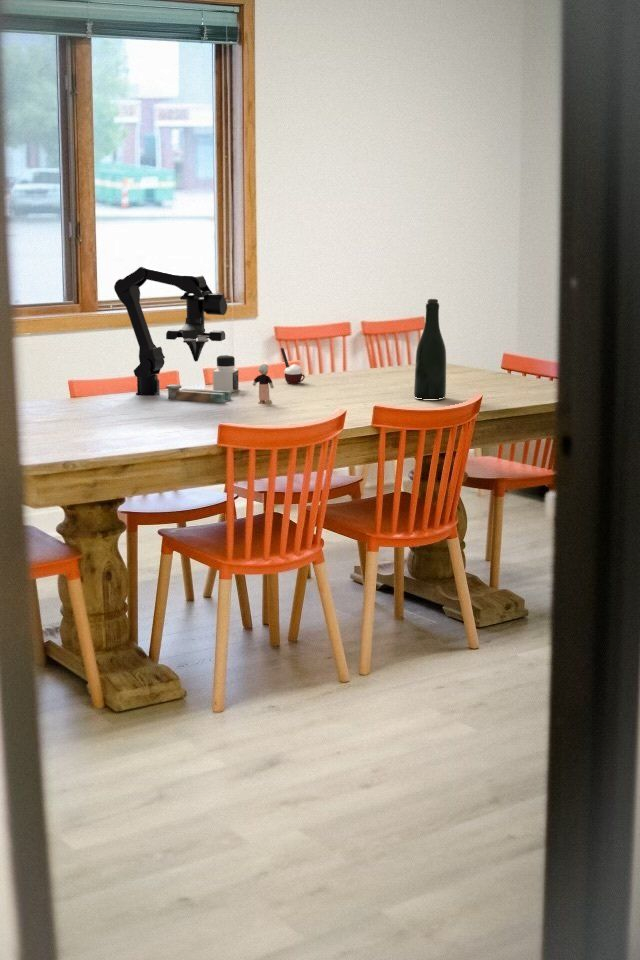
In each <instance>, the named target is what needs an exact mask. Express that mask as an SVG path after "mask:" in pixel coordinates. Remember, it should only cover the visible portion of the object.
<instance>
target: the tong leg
mask: <svg viewBox="0 0 640 960" xmlns="http://www.w3.org/2000/svg"><path fill="white" fill-rule="evenodd" d="M176 396H177V399H176V400H177V401H179V400H180V401H189V402H204V403H216V404H224V403H225V402H226V401H225V393H212V392H199V391H186V390H182V389H179V390H178V391H176Z"/></svg>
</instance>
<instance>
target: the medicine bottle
mask: <svg viewBox="0 0 640 960" xmlns="http://www.w3.org/2000/svg"><path fill="white" fill-rule="evenodd" d="M235 366H236V365H235V357H234V355H228V354H225V355H223V354H222V355H218V356H217V357H216V368H217V369H215V370H213V372H212V381H213V382H212V383H213V384H212V385H213V386H212V387H213V389H212V390H219V391H231V394H232V393H234V392H236V391H238V390H239V369H238V368H235Z"/></svg>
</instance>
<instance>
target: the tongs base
mask: <svg viewBox="0 0 640 960" xmlns="http://www.w3.org/2000/svg"><path fill="white" fill-rule="evenodd" d="M165 388H166V389H167V397H168V398H167V399H170V400H177V396H176V391H178V390H180V389H181V388H182V385H181V384H168V385H167V384H166V385H165ZM181 390H186V391H199V392H212V393H225V402H226V401H227V402H230V401H232V392H231V391H219V390H213V389H203V388H201V389H198V388H196V389H195V388H182V389H181Z"/></svg>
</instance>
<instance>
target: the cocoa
mask: <svg viewBox="0 0 640 960" xmlns="http://www.w3.org/2000/svg"><path fill="white" fill-rule="evenodd" d="M280 351H281V356H282V359H283V362H284V364H285V367H286V368H285V369H284V371H283V372H284V379H285V381H286V383H287V384H291V385H297V384H299V383H301V382H303V381H304V380H305V377H306V376H305V374H303V369H302V368H301V366H300V365H298V364H292V365H289V362H288V359H287V358H288V357H287V356H286V355H287V354H286V351H285V347H284V348H283V347H281V348H280Z"/></svg>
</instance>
